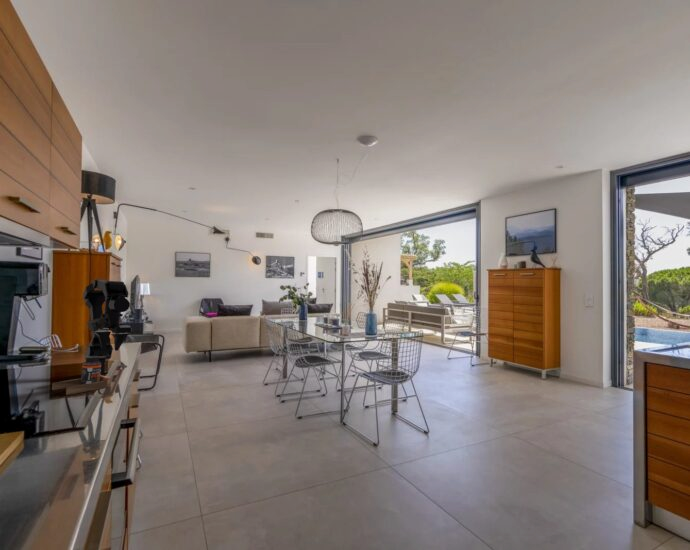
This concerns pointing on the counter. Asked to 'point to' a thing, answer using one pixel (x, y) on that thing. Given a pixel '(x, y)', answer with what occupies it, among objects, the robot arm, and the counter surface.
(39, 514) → the counter surface
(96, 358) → the supplement bottle
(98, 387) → the comb channel
